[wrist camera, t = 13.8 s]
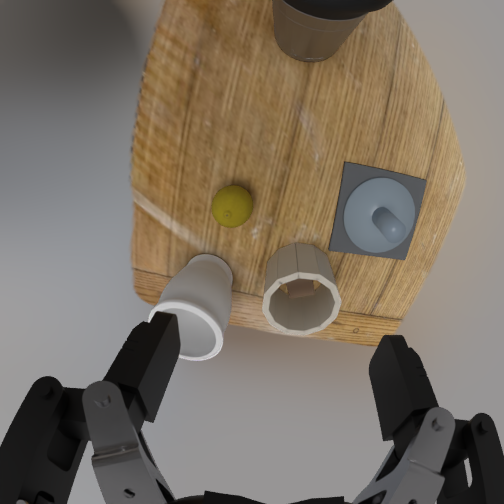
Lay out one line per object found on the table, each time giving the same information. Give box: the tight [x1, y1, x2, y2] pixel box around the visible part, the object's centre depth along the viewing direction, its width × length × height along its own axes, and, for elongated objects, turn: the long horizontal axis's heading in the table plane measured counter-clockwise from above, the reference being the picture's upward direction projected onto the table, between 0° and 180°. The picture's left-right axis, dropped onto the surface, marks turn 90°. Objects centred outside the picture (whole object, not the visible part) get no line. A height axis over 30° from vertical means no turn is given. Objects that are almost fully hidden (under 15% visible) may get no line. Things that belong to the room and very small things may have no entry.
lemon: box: [212, 185, 253, 228], centre depth 37 cm, size 6×6×8 cm
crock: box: [262, 243, 341, 335], centre depth 41 cm, size 11×11×9 cm
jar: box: [148, 254, 233, 361], centre depth 40 cm, size 11×10×15 cm
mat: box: [328, 162, 426, 260], centre depth 39 cm, size 14×14×1 cm
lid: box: [343, 177, 415, 253], centre depth 36 cm, size 12×12×7 cm
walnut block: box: [286, 278, 315, 299], centre depth 43 cm, size 4×4×4 cm
